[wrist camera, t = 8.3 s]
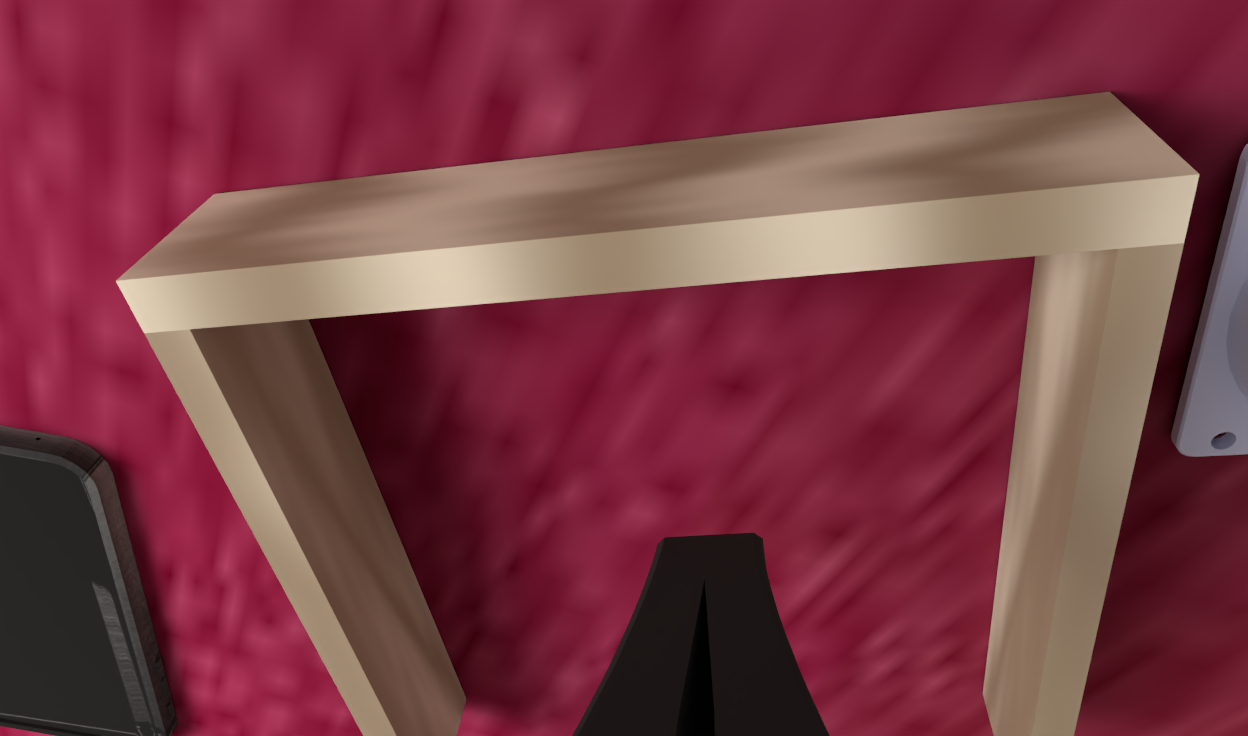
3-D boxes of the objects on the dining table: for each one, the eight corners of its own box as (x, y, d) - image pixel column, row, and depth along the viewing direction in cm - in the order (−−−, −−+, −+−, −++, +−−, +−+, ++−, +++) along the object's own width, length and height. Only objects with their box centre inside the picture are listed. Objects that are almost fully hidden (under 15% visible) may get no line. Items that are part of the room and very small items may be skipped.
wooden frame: (1109, 91, 17) (1199, 174, 14) (1016, 693, 28) (1055, 820, 24) (214, 193, 20) (115, 280, 17) (439, 699, 31) (404, 811, 28)
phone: (-33, 720, 33) (-189, 413, 25) (-13, 694, 34) (-156, 389, 25) (174, 755, 33) (93, 462, 25) (189, 728, 34) (115, 436, 26)
